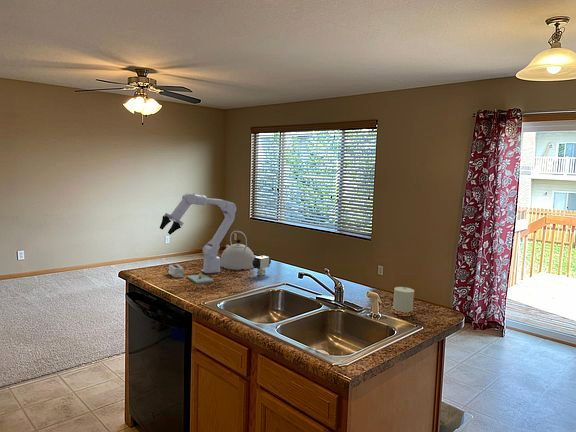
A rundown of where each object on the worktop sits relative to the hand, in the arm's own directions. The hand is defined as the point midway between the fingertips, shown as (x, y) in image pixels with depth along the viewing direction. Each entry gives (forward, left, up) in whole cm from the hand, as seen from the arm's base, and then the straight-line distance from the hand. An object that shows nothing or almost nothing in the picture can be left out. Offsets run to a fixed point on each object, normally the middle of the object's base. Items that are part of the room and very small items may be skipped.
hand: (164, 231), depth 241 cm
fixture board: (-16, +15, -25) cm, 33 cm away
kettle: (-51, -10, -26) cm, 58 cm away
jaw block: (-7, +1, -25) cm, 26 cm away
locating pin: (-16, +15, -25) cm, 33 cm away
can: (-80, +103, -26) cm, 133 cm away
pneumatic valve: (-53, +18, -26) cm, 61 cm away
